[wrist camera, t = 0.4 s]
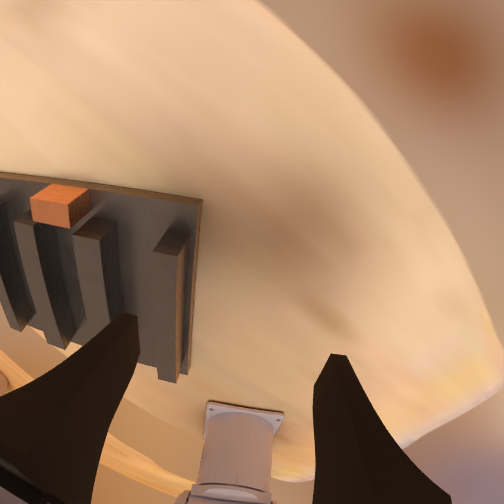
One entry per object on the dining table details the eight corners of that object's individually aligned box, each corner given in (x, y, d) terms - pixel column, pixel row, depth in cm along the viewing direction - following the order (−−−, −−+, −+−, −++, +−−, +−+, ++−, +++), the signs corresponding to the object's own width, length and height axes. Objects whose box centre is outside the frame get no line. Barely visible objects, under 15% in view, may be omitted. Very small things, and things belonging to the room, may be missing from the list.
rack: (190, 366, 27) (181, 397, 24) (30, 318, 27) (14, 340, 24) (202, 199, 19) (187, 225, 16) (-4, 171, 19) (-33, 188, 16)
